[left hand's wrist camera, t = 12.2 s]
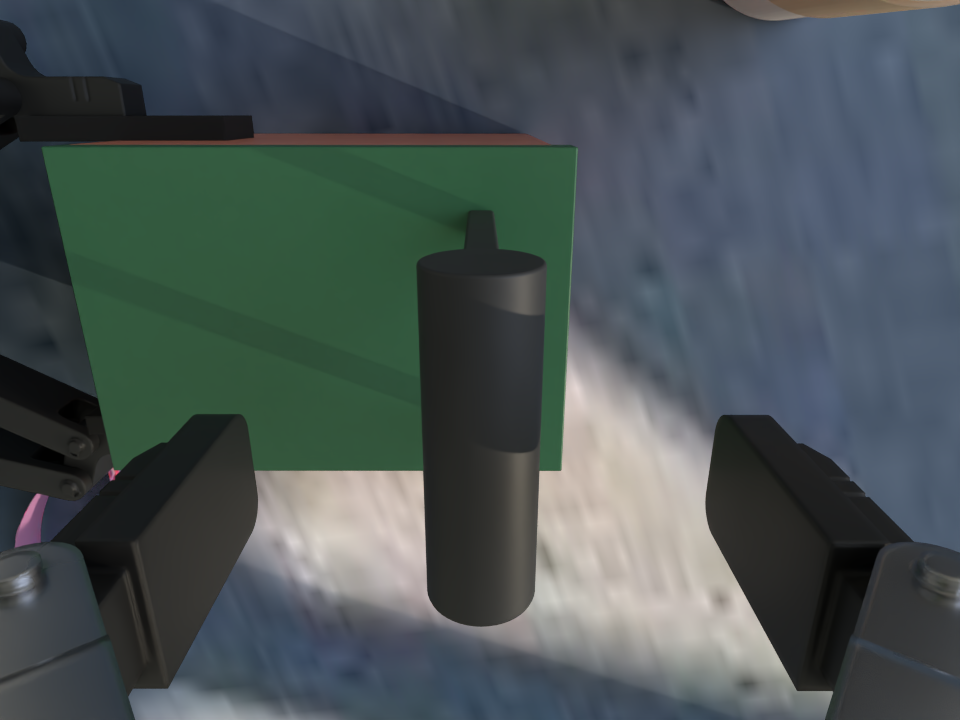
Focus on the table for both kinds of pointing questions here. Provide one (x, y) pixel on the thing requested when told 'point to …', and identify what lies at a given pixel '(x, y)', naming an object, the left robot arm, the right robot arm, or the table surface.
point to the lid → (341, 321)
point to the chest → (355, 140)
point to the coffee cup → (828, 7)
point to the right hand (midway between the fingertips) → (258, 279)
